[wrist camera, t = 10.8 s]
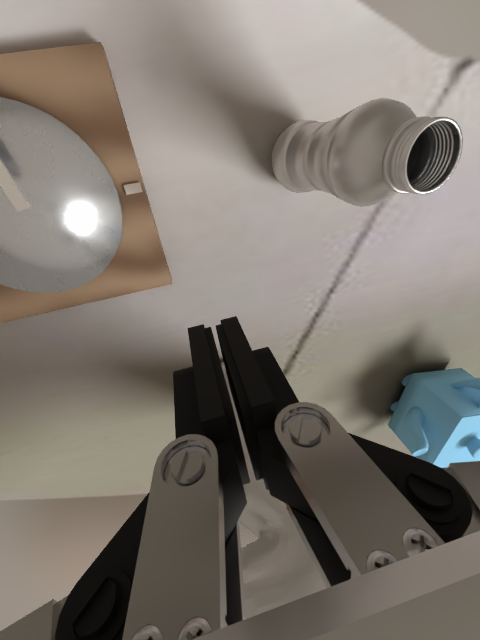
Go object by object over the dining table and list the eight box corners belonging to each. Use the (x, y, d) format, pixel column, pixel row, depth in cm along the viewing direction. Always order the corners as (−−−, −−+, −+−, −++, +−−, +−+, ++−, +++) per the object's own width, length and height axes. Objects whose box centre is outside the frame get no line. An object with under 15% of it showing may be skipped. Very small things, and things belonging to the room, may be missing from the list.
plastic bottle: (267, 194, 34) (372, 230, 17) (264, 125, 30) (391, 84, 13) (318, 186, 35) (465, 213, 18) (320, 119, 31) (505, 73, 14)
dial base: (171, 279, 36) (171, 284, 35) (-14, 321, 34) (-22, 328, 32) (103, 47, 25) (99, 40, 23) (-186, 83, 22) (-212, 77, 21)
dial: (150, 259, 33) (147, 276, 28) (4, 309, 32) (-25, 336, 27) (63, 71, 24) (37, 49, 19) (-145, 132, 23) (-228, 125, 18)
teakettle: (441, 339, 54) (524, 394, 41) (465, 386, 63) (539, 442, 51) (360, 400, 57) (414, 467, 45) (394, 435, 67) (447, 499, 54)
